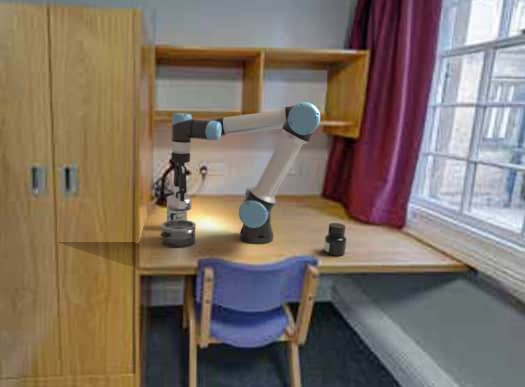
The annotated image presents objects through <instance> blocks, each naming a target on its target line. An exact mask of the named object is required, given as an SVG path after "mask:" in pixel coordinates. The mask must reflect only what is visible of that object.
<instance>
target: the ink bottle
mask: <svg viewBox="0 0 525 387" xmlns="http://www.w3.org/2000/svg"><path fill="white" fill-rule="evenodd" d="M327 231H328V233H327V235H326V236H324V246H323V252H324V253H325V254H327V255H331V256H334V255H335V257H339V256H340V255H341V256H344V255H345V254H346V248H347V237H346V236H345V233H346V225H345V224H343V223H339V222H330V223H329V224H328V230H327ZM343 254H344V255H343ZM341 256H340V257H341Z"/></svg>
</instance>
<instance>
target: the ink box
mask: <svg viewBox="0 0 525 387" xmlns="http://www.w3.org/2000/svg"><path fill="white" fill-rule="evenodd" d="M169 220H188V211H172V210H169V209H167V208H166V221H169Z"/></svg>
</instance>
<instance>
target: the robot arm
mask: <svg viewBox="0 0 525 387" xmlns="http://www.w3.org/2000/svg"><path fill="white" fill-rule="evenodd" d="M171 122H172V123H171V143H170V144H169V145H170V146H171V151H172V152H171V154H170V155H171V156H170V157H171V158H170V159H171V160H170V161H171V162H173V163H174V174H173V186H174V187H173V188H174V190H173V191H174V192H173V195H176V192H177V193H178V209H185V195H186V193H187V192H188V191H187V189H188V188H187V186H188V185H187V169H188V168H187V167H186V165H185V164H186V163H190V162H191V153H190V152H191V148H192V147H191V144H192V142H191V141H192V139H197V140H207V141H219V140H220V139H221V137H223V136H231V135H237V134H238V135H239V134H247V133H255V132H256V133H257V132H263V131H272V130H279V129H280V130H282V136H281V137H280V140H279V141H278V143H277V145H276V147H275V149H274V151H273V153H272V155H271V157H270V159H269V160H268V162H267V164H266V166H265V168H264V170H263V171H262V174H261V176H260V178H259V180H258V181H257V184H256V185H255V186H254V187H248V188H246V189H245V198H244V200H243V201H242V204H240V206H239V209H238V217H239V219H240V221H241V223H242V226H241V228H240V231H239V239H240V240H241V241H243V242H245V243H248V244H255V245H258V244H259V245H260V244H268V243H271V242H273V241H274V231H273V227H272V223H271V218H272V210H273V208H274V206H275V204H276V201H277V200H276V198H275V197H276V195H277V192H278V190H279V189H280V187H281V186H282V183H283V181H284V179H285V178H286V176H287V174H288V172H289V171H290V168H291V167H292V165H293V163H294V161H295V159H296V158H297V156H298V154H299V152H300V150H301V148H302V146H303V145H304V144H308V143H309V142H310V140H311V138H312V136H313V135H314V132H315V131H316V130H317V129H318V128H319V125H320V122H321V113H320V111H319V109H318V107H317V106H316V105H315V104H313V103H311V102H308V101H301V102H298V103H296V104H294V105H290V106H285V107H283V108H282V109H279V110H273V111H272V110H270V111H264V112H263V111H262V112H256V113H249V114H248V113H247V114H241V115H234V116H233V115H232V116H226V117H218V118H215V117H214V118H211V119H207V120H206V119H203V120H202V119H193V117H192V114H190V113H184V112H183V113H181V112H177V113H176V112H175V113H173V115H172V121H171Z"/></svg>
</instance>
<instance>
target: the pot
mask: <svg viewBox="0 0 525 387" xmlns="http://www.w3.org/2000/svg"><path fill="white" fill-rule="evenodd" d="M196 226H197V223H195V222H194V221H192V220H188V219H187V220H169V221H167V220H166V221H163V222H162V223H161V233H160V237H161V244H162V245H163V246H164V247H167V248H172V249H173V248H174V249H182V248H189V247H191V246H193V245H195V243H196Z"/></svg>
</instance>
